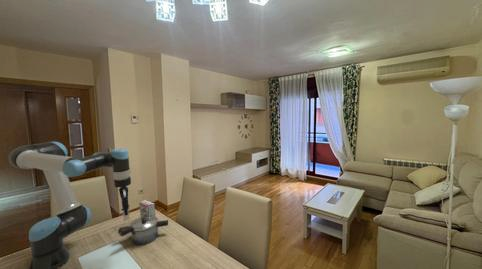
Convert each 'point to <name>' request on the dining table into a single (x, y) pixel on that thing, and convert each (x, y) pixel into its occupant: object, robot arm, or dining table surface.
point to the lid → (140, 225)
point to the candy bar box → (147, 208)
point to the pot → (145, 234)
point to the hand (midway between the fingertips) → (126, 219)
